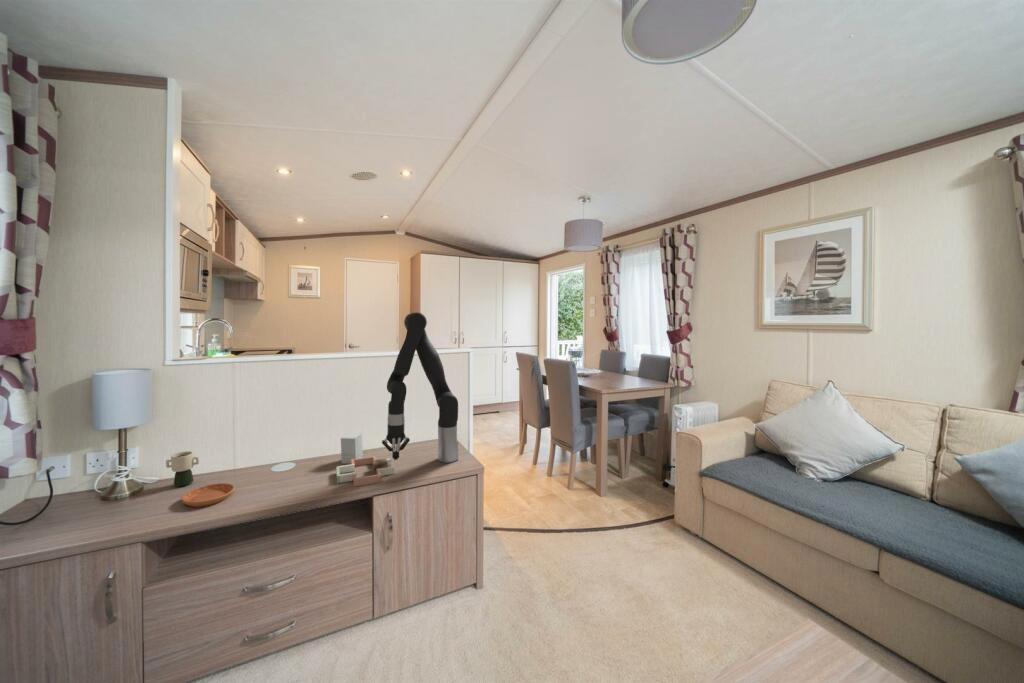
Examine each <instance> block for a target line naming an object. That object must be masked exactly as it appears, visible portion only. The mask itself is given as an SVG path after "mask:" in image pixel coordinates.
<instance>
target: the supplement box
mask: <svg viewBox="0 0 1024 683" xmlns="http://www.w3.org/2000/svg"><path fill="white" fill-rule="evenodd" d="M340 451H341V452H340V453H341V454H340V455H341V464H345V465H350V464H351V459H357V458H364V457H363V456H364V454H363V433H347V434H346V435H344V436H342V437H341V438H340Z"/></svg>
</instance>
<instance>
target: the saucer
mask: <svg viewBox="0 0 1024 683" xmlns="http://www.w3.org/2000/svg"><path fill="white" fill-rule="evenodd" d="M234 491H235V486H234V484H231V483H228V482H227V483H221V482H220V483H213V484H206V485H203V486H199V487H196V488H194V489H191V490H189V491H187V492H186V493H185V494H183V495H182V497H181V502H182V503H183V504H184V505H187V506H189V507H192V508H199V507H200V508H201V507H202V508H203V507H207V506H211V505H215V504H218V503H220V502H222V501H224V500H227V498H229V497H230V496H231V495H232V494H233V493H234Z"/></svg>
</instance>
